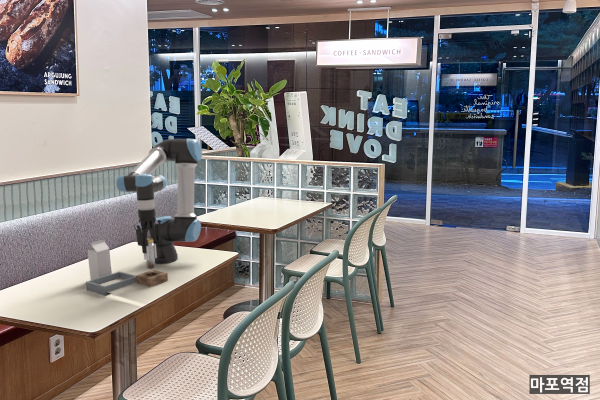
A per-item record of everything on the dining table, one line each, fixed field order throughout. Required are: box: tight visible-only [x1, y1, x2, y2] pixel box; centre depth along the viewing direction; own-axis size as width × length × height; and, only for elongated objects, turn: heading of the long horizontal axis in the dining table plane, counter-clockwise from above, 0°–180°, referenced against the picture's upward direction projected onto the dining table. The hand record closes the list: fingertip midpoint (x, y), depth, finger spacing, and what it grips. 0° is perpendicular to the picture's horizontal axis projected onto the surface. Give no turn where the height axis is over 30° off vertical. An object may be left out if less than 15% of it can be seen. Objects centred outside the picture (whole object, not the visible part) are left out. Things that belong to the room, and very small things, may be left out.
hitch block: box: [135, 269, 169, 288], centre depth 251 cm, size 10×10×5 cm
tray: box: [85, 270, 137, 297], centre depth 249 cm, size 18×14×4 cm
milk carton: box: [87, 239, 113, 281], centre depth 260 cm, size 7×7×19 cm
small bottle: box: [146, 237, 156, 270], centre depth 249 cm, size 4×4×14 cm
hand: (150, 258), depth 249 cm, fingers closed on small bottle, 3 cm apart
